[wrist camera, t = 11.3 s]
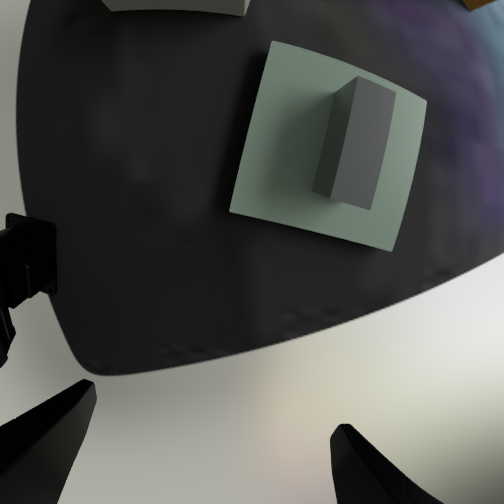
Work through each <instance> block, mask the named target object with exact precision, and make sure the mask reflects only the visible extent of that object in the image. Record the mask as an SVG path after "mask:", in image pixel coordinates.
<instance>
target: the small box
mask: <svg viewBox="0 0 504 504" xmlns="http://www.w3.org/2000/svg"><path fill="white" fill-rule="evenodd" d="M462 1H463V2H464V4H465V5H466V6H467V8H468V9H469V10H470V11H474V10H476V9H478V8H481V7H483V6H485V5H487V4H490V3H492V2H495V1H497V0H462Z"/></svg>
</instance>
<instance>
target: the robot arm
mask: <svg viewBox="0 0 504 504" xmlns="http://www.w3.org/2000/svg"><path fill="white" fill-rule="evenodd" d="M50 228H51V229H52V232H51V230H50ZM51 288H52V290H53V291H52V290H51ZM39 291H41V292H43V293H46V294H49V295H51V296H53V295H55V294H56V293H57V263H56V226H55V224H53V223H50V222H46V221H42V220H38V219H34V218H30V217H26V216H22V215H18V214H14V213H9V214H7V215H6V229H4V230H1V231H0V368H1V367H2V366H3V365H4V364H5V362H6V361H7V359H8V356H7V353H8V350H9V348H10V345H11V343H12V341H13V339H14V337H15V334H16V331H15V328H14V326H13V324H12V321H11V317H10V313H9V309H8V308H9V307H10V308H12V309H14V308H15V307H17V306H18V305H19V304H21V303H22V302H23V301H24V300H26V299H27V298H32V297H33V296H34V295H36V294H37V293H38V292H39ZM96 400H97V396H96V390H95V384H94V383H93V382H92V381H89V380H86V379H83V380H81V381H79V382H77V383H75V384H74V385H72V386H70V387H69V388H67V389H65V390H64V391H62V392H60V393H58V394H57V395H55V396H53V397H52V398H50V399H48V400H46V401H45V402H43V403H41V404H39V405H38V406H36V407H34V408H32V409H31V410H29V411H27V412H25V413H24V414H22V415H20V416H18V417H17V418H16V419H13V420H11V421H9V422H7V423H6V424H3V425H2V426H0V504H57V503H58V500H59V498H60V495H61V492H62V490H63V487H64V485H65V482H66V480H67V477H68V475H69V472H70V470H71V467H72V465H73V463H74V461H75V458H76V456H77V454H78V451H79V449H80V447H81V445H82V442H83V440H84V438H85V435H86V432H87V429H88V426H89V423H90V420H91V416H92V413H93V410H94V407H95V404H96ZM330 450H331V466H332V475H333V482H334V487H335V492H336V498H337V504H444V503H442V502H441V501H439V500H438V499H436V498H435V497H433V496H432V495H430V494H428V493H427V492H426V491H424V490H423V489H422V488H420V487H419V486H418V485H417V484H415V483H414V482H413V481H411V479H409V478H408V477H406V475H405V474H404V473H402V472H401V471H400V470H399V469H398V468H397V467H396V466H394V465H393V464H392V463H391V462H390V461H389V460H388V459H387V458H386V457H385V456H384V455H382V454H381V453H380V452H379V451H378V450H377V449H376V448H375V447H374V446H373V445H372V444H371V443H370V442H368V440H366V439H365V438H364V437H363V436H362V435H361V434H360V433H359V432H358V431H357V430H356V429H355V428H354V427H353V426H352V425H350V424H340V425H338V427H337V428H336V430H335V431H334V432H333V434H332V435H331V438H330Z"/></svg>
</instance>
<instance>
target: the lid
mask: <svg viewBox="0 0 504 504" xmlns="http://www.w3.org/2000/svg"><path fill="white" fill-rule="evenodd" d="M426 104H427V101H426V100H424V99H422V98H420V97H419V96H417V95H415V94H413V93H411V92H409V91H407V90H406V89H404V88H402V87H400V86H398V85H396V84H394V83H392V82H389V81H387V80H385V79H383V78H381V77H379V76H376V75H374V74H372V73H370V72H367V71H365V70H362V69H360V68H358V67H355V66H353V65H350V64H347V63H345V62H342V61H339V60H337V59H334V58H331V57H328V56H325V55H322V54H319V53H316V52H313V51H309V50H306V49H303V48H299V47H296V46H292V45H288V44H284V43H280V42H276V41H272V43H271V47H270V50H269V54H268V57H267V61H266V65H265V68H264V72H263V76H262V79H261V83H260V87H259V91H258V94H257V98H256V102H255V106H254V110H253V114H252V118H251V122H250V126H249V130H248V134H247V138H246V142H245V146H244V150H243V154H242V158H241V162H240V166H239V171H238V175H237V179H236V183H235V188H234V192H233V196H232V201H231V205H230V210H229V212H233V213H237V214H242V215H246V216H251V217H255V218H259V219H264V220H268V221H272V222H277V223H281V224H285V225H289V226H294V227H298V228H302V229H306V230H310V231H314V232H318V233H322V234H326V235H330V236H334V237H338V238H342V239H346V240H349V241H353V242H357V243H361V244H365V245H368V246H372V247H376V248H380V249H383V250H387V251H391V252H392V250H393V247H394V244H395V240H396V237H397V234H398V231H399V228H400V224H401V221H402V218H403V214H404V210H405V207H406V203H407V199H408V196H409V192H410V188H411V184H412V180H413V175H414V171H415V167H416V162H417V157H418V152H419V147H420V142H421V136H422V131H423V125H424V118H425V111H426Z"/></svg>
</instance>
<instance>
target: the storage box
mask: <svg viewBox="0 0 504 504" xmlns="http://www.w3.org/2000/svg"><path fill="white" fill-rule="evenodd" d="M101 1H102V2H103V3H104V4H105V5H106V6H107V7H108V8H109V9H110V10H111V11H124V10H144V9H172V10H193V11H205V12H215V13H223V14H230V15H237V16H243V17H244V16H245V13H246V11H247V8H248V5H249V2H250V0H101Z"/></svg>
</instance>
